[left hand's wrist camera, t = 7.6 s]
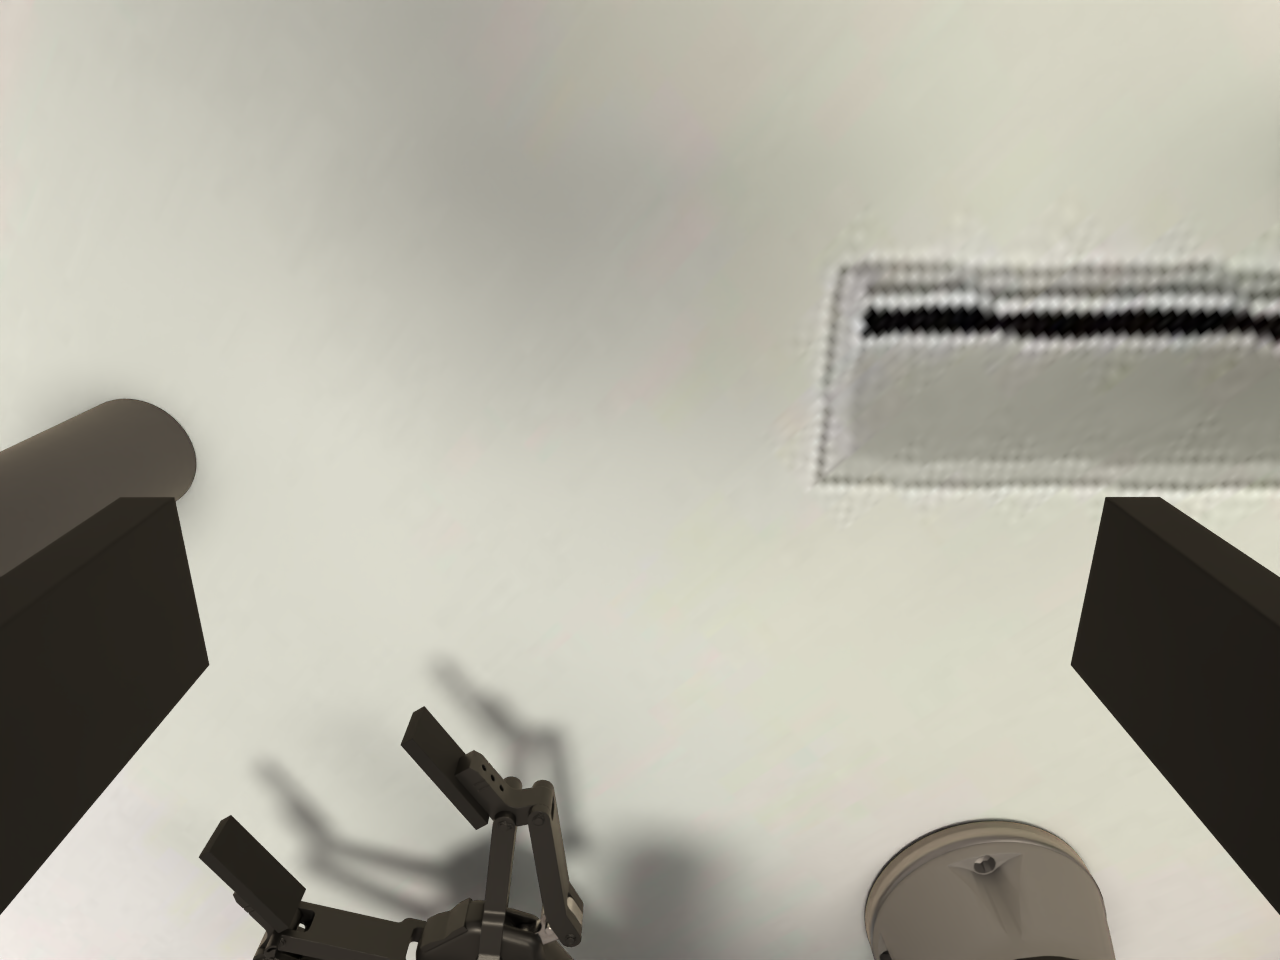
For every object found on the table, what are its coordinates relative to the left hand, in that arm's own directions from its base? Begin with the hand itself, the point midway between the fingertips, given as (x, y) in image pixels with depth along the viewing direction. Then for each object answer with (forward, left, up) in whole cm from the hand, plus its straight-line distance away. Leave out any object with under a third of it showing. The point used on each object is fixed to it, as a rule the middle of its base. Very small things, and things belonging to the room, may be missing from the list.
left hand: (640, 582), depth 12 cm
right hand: (+26, -18, -26) cm, 41 cm away
